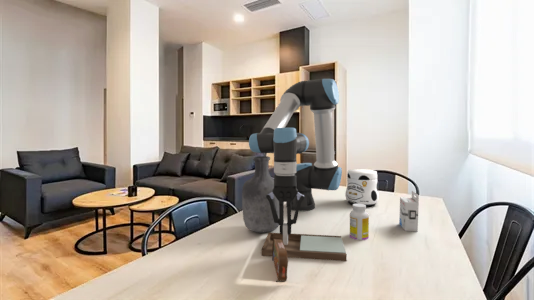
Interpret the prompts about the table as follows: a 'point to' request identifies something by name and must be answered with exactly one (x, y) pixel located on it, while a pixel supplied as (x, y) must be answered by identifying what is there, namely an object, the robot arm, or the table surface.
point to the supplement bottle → (359, 222)
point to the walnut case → (294, 248)
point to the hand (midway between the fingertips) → (285, 243)
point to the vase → (259, 198)
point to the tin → (280, 259)
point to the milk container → (362, 187)
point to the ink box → (409, 212)
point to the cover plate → (322, 244)
